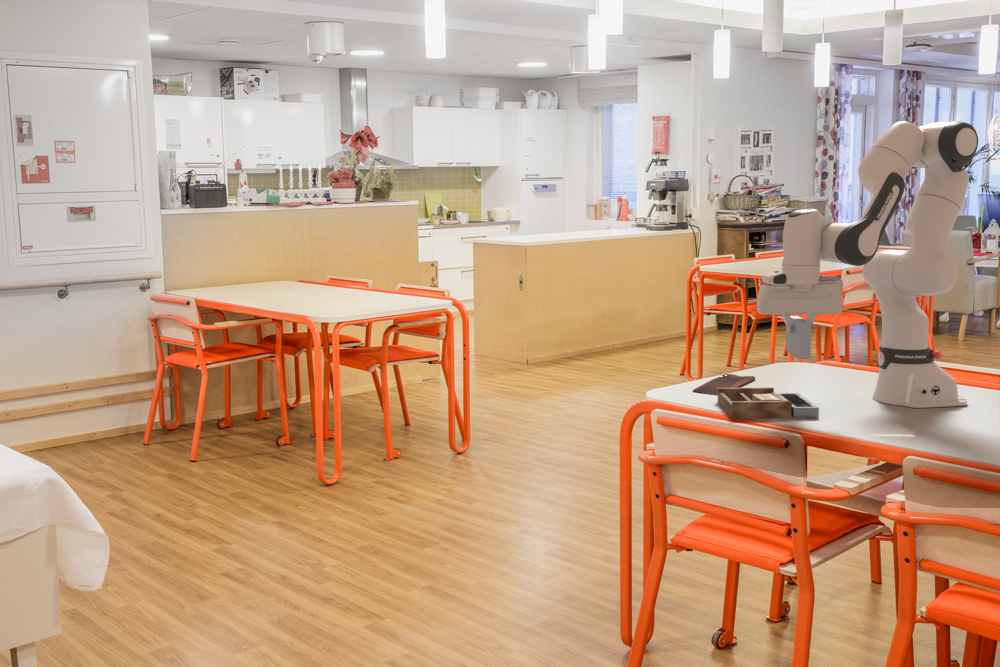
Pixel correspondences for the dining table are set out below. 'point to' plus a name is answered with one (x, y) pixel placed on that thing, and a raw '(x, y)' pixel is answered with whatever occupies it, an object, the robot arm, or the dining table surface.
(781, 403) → the divided tray
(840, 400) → the dining table surface
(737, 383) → the wooden tablet
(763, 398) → the offcut short
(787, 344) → the gray rectangular panel
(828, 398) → the dining table surface
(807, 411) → the stand
